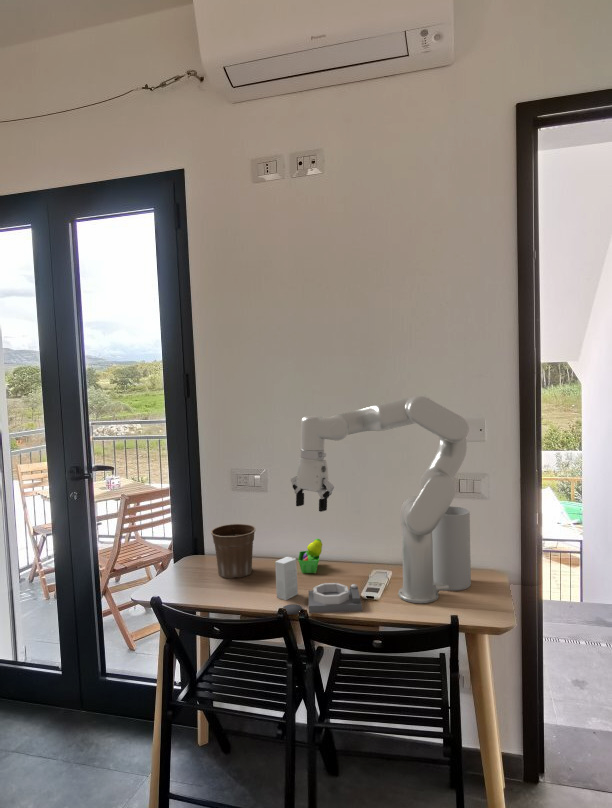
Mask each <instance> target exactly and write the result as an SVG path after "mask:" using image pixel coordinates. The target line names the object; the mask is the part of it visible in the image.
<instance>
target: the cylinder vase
mask: <svg viewBox="0 0 612 808" xmlns="http://www.w3.org/2000/svg"><path fill="white" fill-rule="evenodd" d="M470 513H471V511H470V509H468V508H466V507H461V506H452V505H450V506H449V508H448V509H447V511H446V513H445V514H444V516H443V517H442V519H441V521H440V522H439V524H438V525H437V527H436V528H435V529H434V530H433V531H432V539H433V581H434V582H435V583H443V585H448V586H449V591H464V590H467V589H469V588H470V586H471V585H472V575H471V574H472V571H471V569H472V568H471V566H472V565H471V564H472V563H471V562H472V561H471V520H470V519H471V517H470V516H471V514H470Z"/></svg>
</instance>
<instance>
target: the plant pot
mask: <svg viewBox="0 0 612 808" xmlns="http://www.w3.org/2000/svg"><path fill="white" fill-rule="evenodd" d="M255 532H256V527H255V525H250V524H245V523H233V524H232V523H230V524H223V525H220V526H217V527H214V528H212V530H211V531H210V534H211V535H212V539H213V544H214V549H215V555H216V565H217V573H218V575H219V577H222V578H223V579H224V578H225V579H235V578H243V577H247V576H249V575H250V574H251V573H252V571H253V550H254V546H253V545H254V541H255V540H254V539H255Z"/></svg>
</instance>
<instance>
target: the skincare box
mask: <svg viewBox="0 0 612 808" xmlns="http://www.w3.org/2000/svg"><path fill="white" fill-rule="evenodd" d="M274 564H275V586H276V589H275V590H276V599H277V598H278V599H280V600H283V601H287V600H289V599H291V598H293V597H295V596H297V595H298V588H299V587H298V570H297V569H298V568H297V566H298V565H297V558H295V557H291V556H285V557H283V558H280V559H278V560H275V562H274Z"/></svg>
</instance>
